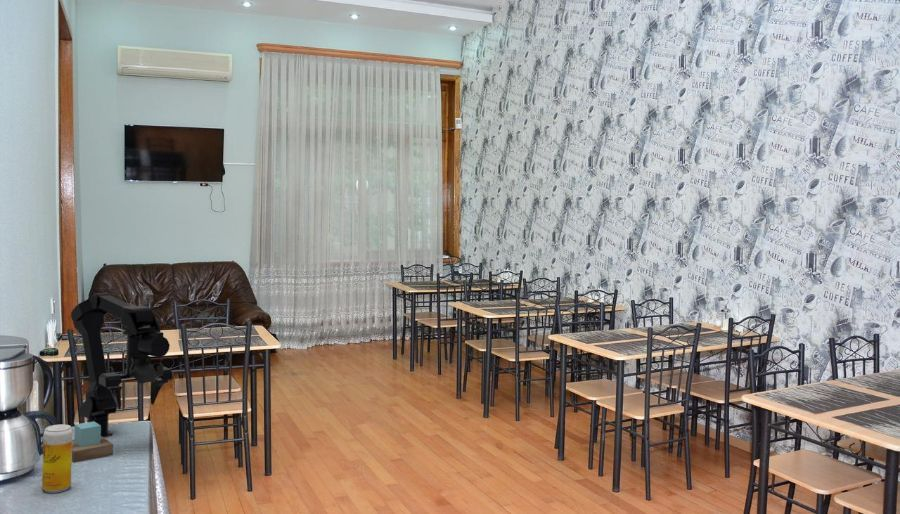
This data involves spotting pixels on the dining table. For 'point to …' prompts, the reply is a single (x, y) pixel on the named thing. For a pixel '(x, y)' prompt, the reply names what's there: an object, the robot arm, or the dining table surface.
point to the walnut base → (91, 450)
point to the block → (87, 434)
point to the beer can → (57, 458)
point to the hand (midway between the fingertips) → (136, 406)
